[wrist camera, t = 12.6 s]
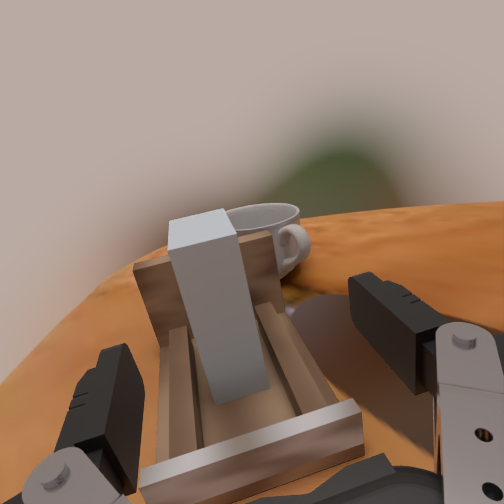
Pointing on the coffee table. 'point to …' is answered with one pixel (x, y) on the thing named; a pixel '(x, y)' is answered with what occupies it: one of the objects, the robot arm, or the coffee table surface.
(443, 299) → the coffee table surface
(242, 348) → the tall grey pillar
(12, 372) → the coffee table surface
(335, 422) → the track block
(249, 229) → the teacup
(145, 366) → the coffee table surface
